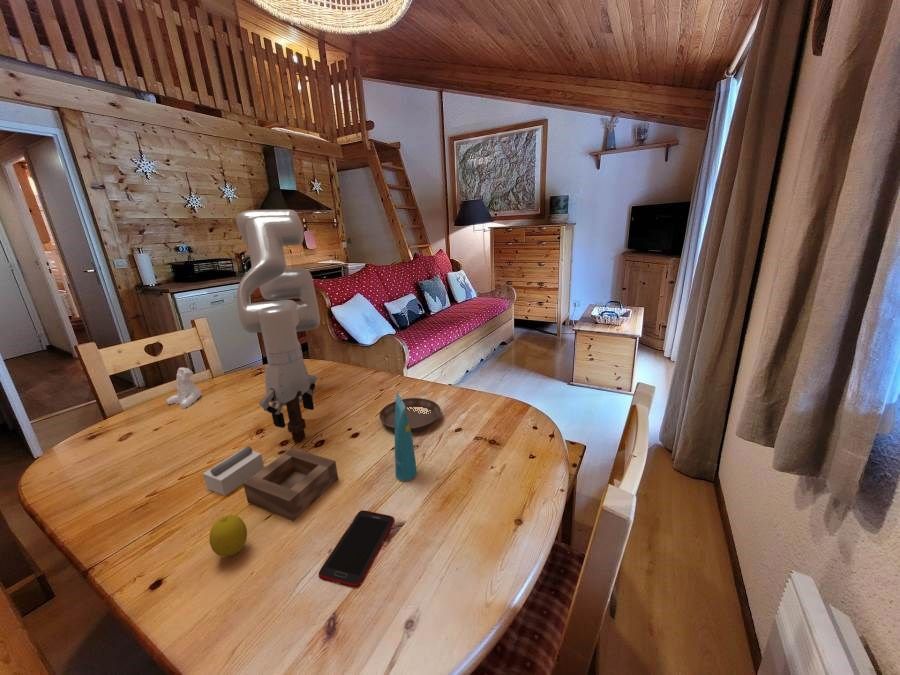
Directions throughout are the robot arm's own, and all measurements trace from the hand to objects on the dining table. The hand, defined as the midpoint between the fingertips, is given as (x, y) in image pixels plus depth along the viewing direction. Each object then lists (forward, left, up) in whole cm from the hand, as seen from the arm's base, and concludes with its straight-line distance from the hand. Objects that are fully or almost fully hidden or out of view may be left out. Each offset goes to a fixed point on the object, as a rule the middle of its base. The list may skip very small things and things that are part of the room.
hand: (295, 417), depth 95 cm
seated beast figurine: (-3, -53, -8) cm, 54 cm away
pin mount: (+17, -2, -7) cm, 18 cm away
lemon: (+31, +16, -8) cm, 35 cm away
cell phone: (+21, +35, -8) cm, 42 cm away
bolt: (0, 0, -8) cm, 7 cm away
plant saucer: (-20, +23, -8) cm, 31 cm away
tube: (+1, +34, -8) cm, 34 cm away
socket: (+15, +14, -7) cm, 21 cm away
